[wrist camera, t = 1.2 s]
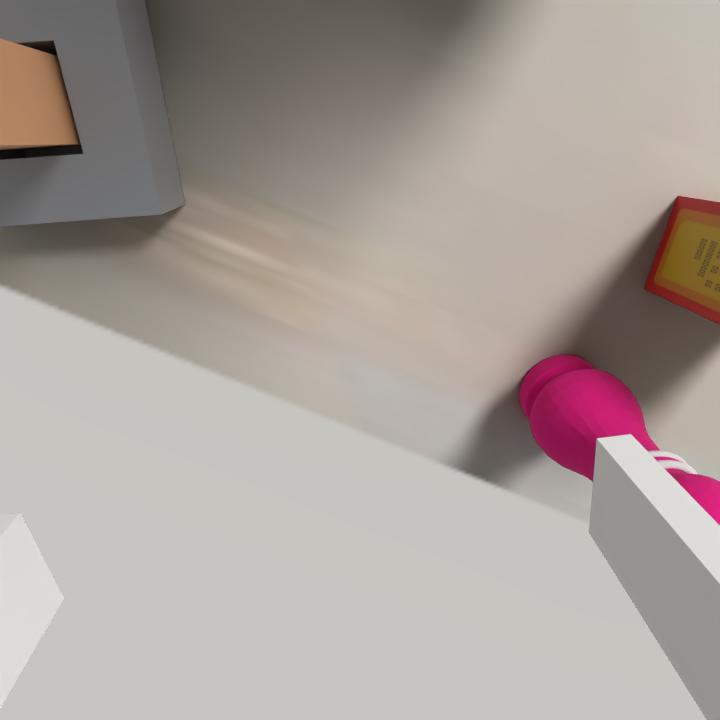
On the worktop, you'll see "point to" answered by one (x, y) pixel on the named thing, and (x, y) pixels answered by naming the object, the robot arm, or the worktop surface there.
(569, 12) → the worktop surface
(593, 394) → the pepper mill
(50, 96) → the plug
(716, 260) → the baking soda box
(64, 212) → the grey square socket block
